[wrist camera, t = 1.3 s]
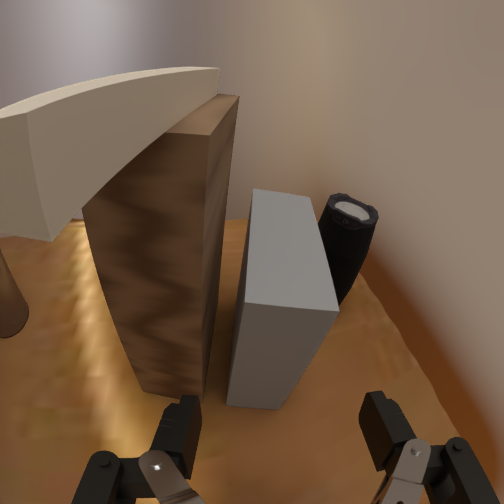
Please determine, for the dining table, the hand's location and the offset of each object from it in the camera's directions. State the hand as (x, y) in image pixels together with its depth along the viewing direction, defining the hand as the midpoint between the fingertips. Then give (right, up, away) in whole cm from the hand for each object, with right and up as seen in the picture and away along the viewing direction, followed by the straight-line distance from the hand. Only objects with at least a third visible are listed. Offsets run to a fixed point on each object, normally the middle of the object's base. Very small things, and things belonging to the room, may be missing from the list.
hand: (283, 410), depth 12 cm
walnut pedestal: (-11, -6, +27) cm, 30 cm away
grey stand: (-1, -7, +28) cm, 29 cm away
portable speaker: (+10, -2, +38) cm, 39 cm away
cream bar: (-7, +16, +4) cm, 18 cm away
